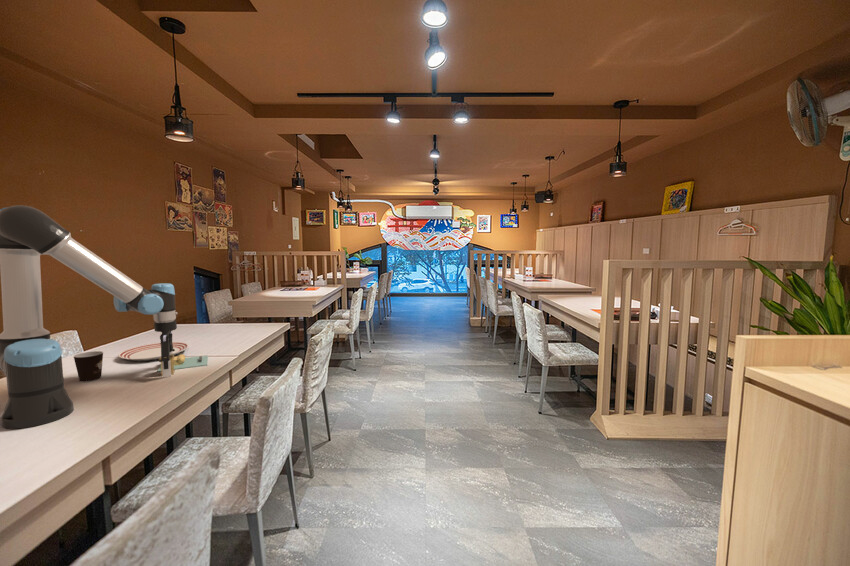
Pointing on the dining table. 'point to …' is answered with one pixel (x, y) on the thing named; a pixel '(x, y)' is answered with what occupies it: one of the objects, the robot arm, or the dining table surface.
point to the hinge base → (188, 362)
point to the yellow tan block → (170, 364)
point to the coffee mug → (89, 365)
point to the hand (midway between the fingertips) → (168, 371)
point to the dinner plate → (150, 351)
